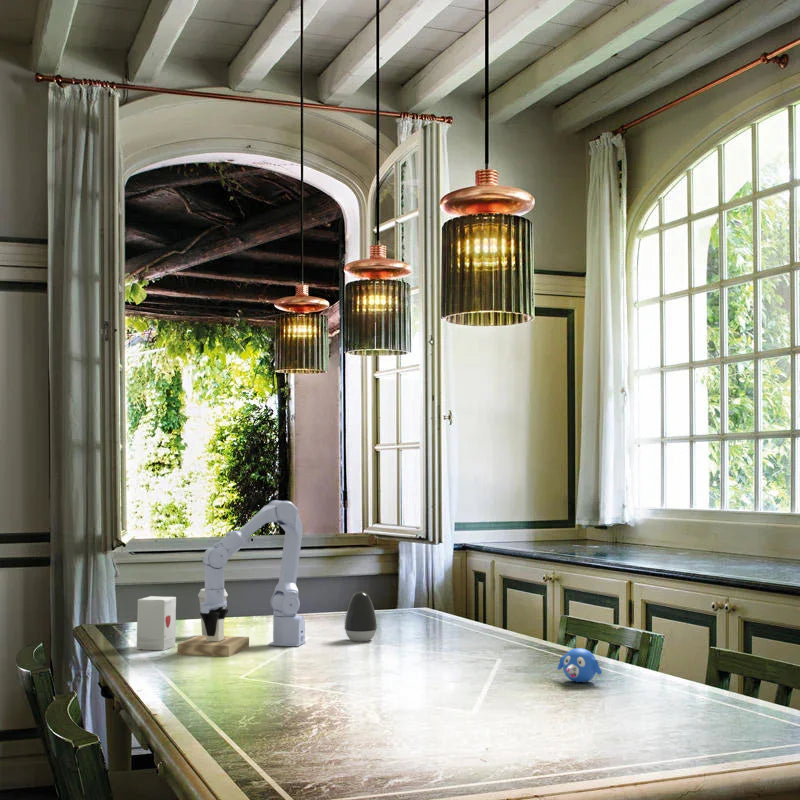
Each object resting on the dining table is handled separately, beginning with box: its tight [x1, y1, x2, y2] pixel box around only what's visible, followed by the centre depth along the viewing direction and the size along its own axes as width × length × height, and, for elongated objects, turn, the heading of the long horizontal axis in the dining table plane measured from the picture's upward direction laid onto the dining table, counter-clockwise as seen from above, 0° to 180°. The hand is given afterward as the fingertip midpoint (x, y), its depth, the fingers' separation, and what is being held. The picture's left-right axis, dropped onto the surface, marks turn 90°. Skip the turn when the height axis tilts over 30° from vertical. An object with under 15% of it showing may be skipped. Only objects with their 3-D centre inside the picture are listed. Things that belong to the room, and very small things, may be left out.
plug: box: [206, 619, 225, 641], centre depth 308 cm, size 4×4×8 cm
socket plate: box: [176, 634, 250, 657], centre depth 308 cm, size 16×16×3 cm
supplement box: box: [136, 595, 177, 651], centre depth 314 cm, size 9×9×15 cm
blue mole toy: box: [557, 647, 603, 683], centre depth 260 cm, size 12×12×8 cm
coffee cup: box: [197, 588, 229, 636], centre depth 335 cm, size 10×10×15 cm
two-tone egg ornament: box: [344, 591, 378, 642], centre depth 327 cm, size 10×10×15 cm
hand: (214, 634), depth 308 cm, fingers closed on plug, 4 cm apart
